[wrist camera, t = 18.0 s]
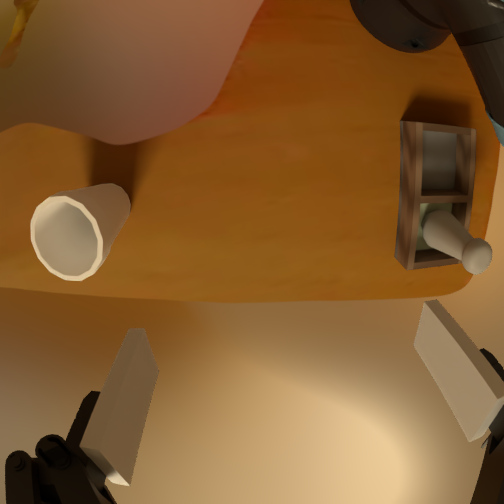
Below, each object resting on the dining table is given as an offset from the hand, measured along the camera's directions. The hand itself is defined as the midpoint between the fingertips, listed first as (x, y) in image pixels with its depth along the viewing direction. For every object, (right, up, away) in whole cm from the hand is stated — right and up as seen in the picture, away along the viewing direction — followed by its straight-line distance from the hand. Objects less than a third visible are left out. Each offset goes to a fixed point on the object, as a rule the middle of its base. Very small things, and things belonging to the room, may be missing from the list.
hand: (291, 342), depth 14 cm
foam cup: (-21, +10, +26) cm, 35 cm away
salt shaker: (+25, +8, +28) cm, 38 cm away
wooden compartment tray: (+24, +13, +26) cm, 38 cm away
